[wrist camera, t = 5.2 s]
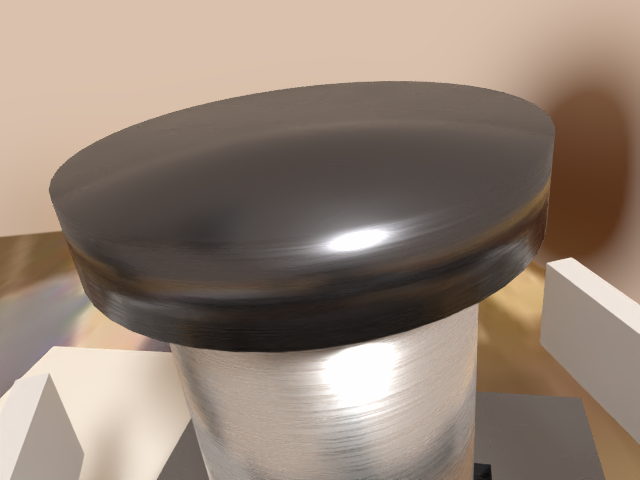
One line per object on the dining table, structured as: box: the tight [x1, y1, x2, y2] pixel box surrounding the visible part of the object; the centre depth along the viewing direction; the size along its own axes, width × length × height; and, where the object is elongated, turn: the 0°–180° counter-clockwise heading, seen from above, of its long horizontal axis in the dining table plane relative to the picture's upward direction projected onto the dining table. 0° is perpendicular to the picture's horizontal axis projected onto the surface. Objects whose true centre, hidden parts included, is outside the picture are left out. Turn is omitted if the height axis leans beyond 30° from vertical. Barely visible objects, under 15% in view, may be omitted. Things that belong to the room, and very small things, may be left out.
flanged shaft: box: [49, 81, 555, 480], centre depth 13 cm, size 8×8×16 cm
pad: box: [0, 346, 191, 480], centre depth 25 cm, size 14×14×1 cm
